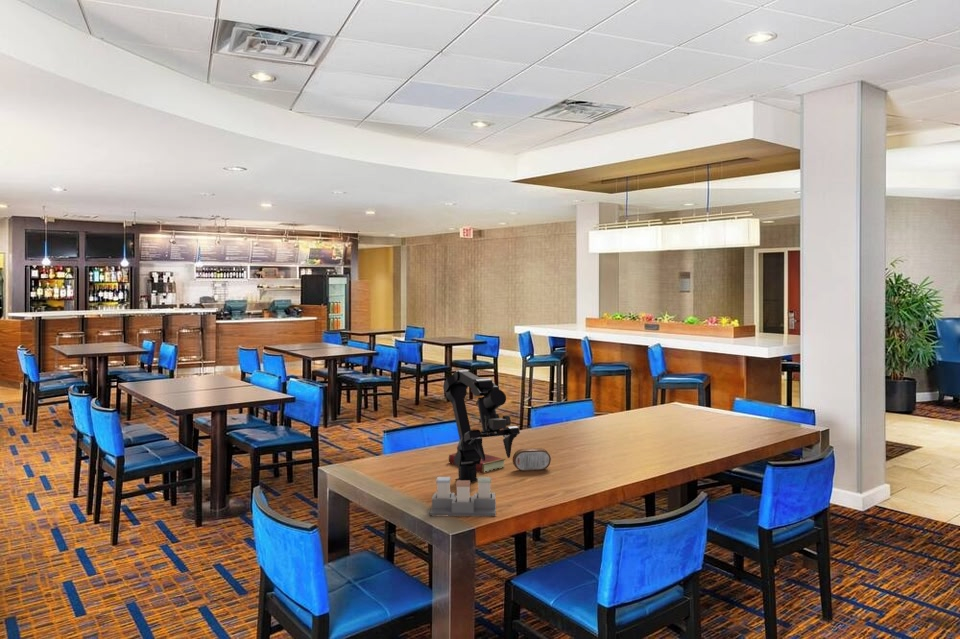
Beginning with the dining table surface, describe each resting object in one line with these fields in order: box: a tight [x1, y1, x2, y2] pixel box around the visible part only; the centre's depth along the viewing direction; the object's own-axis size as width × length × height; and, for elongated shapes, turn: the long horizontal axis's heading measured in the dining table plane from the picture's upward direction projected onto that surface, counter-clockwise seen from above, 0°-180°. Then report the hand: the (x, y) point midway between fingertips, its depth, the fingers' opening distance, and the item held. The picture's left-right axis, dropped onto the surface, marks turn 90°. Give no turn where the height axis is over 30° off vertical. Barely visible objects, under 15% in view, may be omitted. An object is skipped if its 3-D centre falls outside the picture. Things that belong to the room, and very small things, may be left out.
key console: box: [429, 492, 497, 517], centre depth 209 cm, size 11×20×4 cm, turn 88°
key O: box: [477, 476, 492, 498], centre depth 211 cm, size 4×4×7 cm
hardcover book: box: [448, 452, 506, 473], centre depth 265 cm, size 12×21×4 cm, turn 42°
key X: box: [455, 480, 471, 502], centre depth 207 cm, size 4×4×7 cm
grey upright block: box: [435, 476, 452, 498], centre depth 211 cm, size 4×4×7 cm
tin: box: [512, 447, 552, 472], centre depth 257 cm, size 15×3×8 cm, turn 100°
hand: (496, 459), depth 220 cm, fingers open, 9 cm apart
